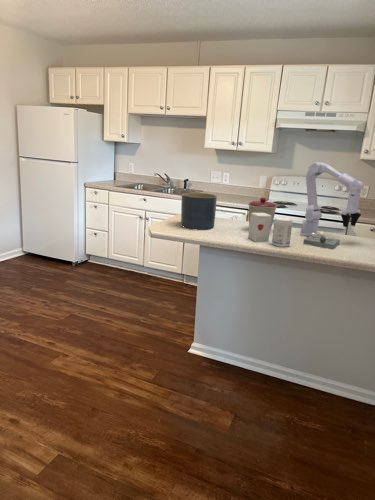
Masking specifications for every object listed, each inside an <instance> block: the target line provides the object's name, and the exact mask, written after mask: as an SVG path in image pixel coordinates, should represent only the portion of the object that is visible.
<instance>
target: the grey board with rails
mask: <svg viewBox="0 0 375 500" xmlns="http://www.w3.org/2000/svg"><path fill="white" fill-rule="evenodd" d="M324 237H325V238H326V241H325V242H321V241H320V238H321V237H320V236H319V235H318V236H316V237H315V238H311V236H306V238H304V239H303V241H302V242H303V243H302V244H303V245H308V246H314V247H317V248H318V247H319V248H324V249H328V250H329V249H330V250H334V249H335V248H336V247H337V246H338V245H339V244H340V241H341V240H340V239H338V238H333V237H326V236H324Z"/></svg>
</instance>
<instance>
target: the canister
mask: <svg viewBox="0 0 375 500" xmlns="http://www.w3.org/2000/svg"><path fill="white" fill-rule="evenodd" d="M247 206H248V224H249V225H248V227H249V226H250V217H251V213H266V214H269V215H271V216H272V217H271V225H270V230H271V229H272V228H273V224H274V220H275V214H276V210H277V208H278V204H277V205H276V203H274V202H271V201H267V198H265V197H260V198H259V200H254V201H250V202H249V203H247Z"/></svg>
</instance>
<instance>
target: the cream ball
mask: <svg viewBox="0 0 375 500" xmlns="http://www.w3.org/2000/svg"><path fill="white" fill-rule="evenodd" d="M318 234H319V235H318V236H320V237H325V232H324V231H320V232H318Z"/></svg>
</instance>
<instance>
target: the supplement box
mask: <svg viewBox="0 0 375 500" xmlns="http://www.w3.org/2000/svg"><path fill="white" fill-rule="evenodd" d="M271 217H272V216H271V215H269V214H266V213H251V217H250V226H249V225H248V235H247V236H248V239H250V240H252V241H253V242H269V239H270V232H271V229H270V225H271Z"/></svg>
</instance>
